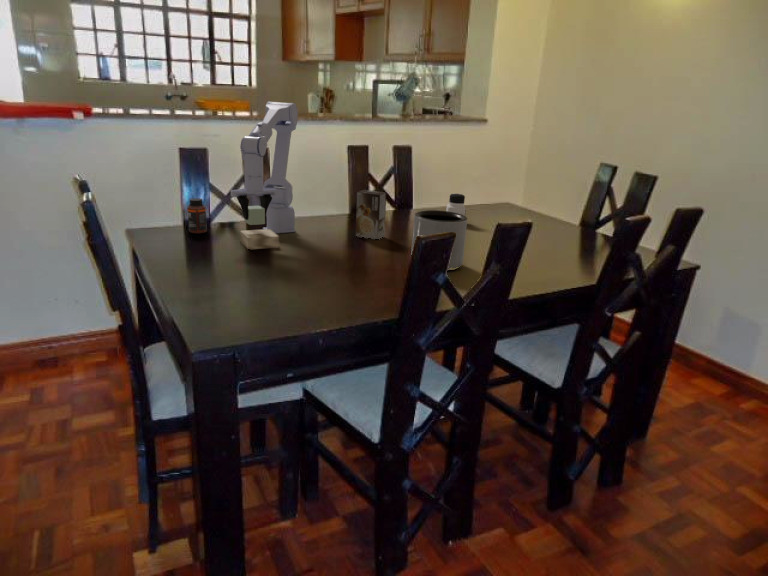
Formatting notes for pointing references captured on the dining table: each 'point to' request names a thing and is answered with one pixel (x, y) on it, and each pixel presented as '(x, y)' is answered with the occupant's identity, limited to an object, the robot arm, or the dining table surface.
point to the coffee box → (370, 214)
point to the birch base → (259, 239)
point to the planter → (442, 230)
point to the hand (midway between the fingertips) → (254, 218)
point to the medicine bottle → (456, 204)
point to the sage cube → (255, 215)
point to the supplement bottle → (197, 216)
